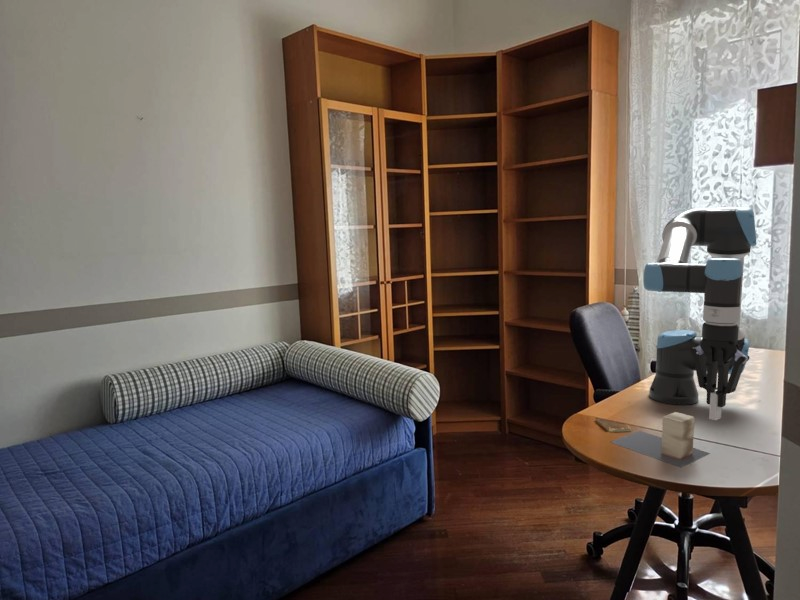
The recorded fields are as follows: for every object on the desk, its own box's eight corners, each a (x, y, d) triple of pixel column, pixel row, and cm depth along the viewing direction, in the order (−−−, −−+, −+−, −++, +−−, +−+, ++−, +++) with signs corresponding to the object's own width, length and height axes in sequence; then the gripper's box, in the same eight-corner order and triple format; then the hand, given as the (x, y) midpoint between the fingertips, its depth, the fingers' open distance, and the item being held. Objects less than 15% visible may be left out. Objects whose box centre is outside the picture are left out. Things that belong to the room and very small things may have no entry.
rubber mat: (639, 432, 160) (639, 430, 160) (710, 455, 144) (710, 453, 144) (610, 443, 153) (610, 442, 153) (681, 469, 136) (681, 467, 136)
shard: (594, 422, 171) (594, 416, 170) (619, 421, 171) (619, 416, 171) (608, 435, 160) (609, 429, 160) (634, 434, 160) (635, 428, 160)
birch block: (673, 447, 148) (675, 411, 146) (692, 453, 144) (694, 417, 142) (661, 453, 144) (662, 416, 143) (680, 459, 140) (681, 422, 139)
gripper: (685, 321, 135) (680, 414, 138) (742, 328, 124) (735, 429, 127) (701, 318, 139) (696, 408, 142) (757, 324, 128) (751, 422, 131)
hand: (715, 418), depth 135 cm, fingers closed
